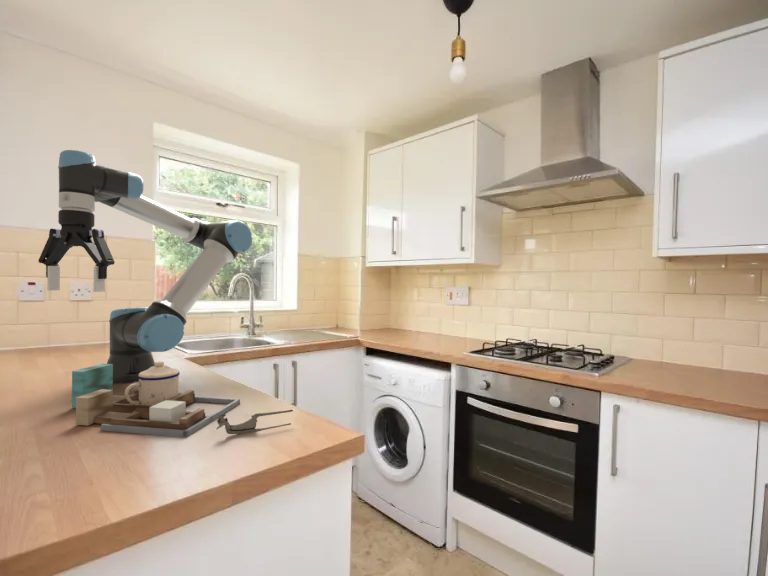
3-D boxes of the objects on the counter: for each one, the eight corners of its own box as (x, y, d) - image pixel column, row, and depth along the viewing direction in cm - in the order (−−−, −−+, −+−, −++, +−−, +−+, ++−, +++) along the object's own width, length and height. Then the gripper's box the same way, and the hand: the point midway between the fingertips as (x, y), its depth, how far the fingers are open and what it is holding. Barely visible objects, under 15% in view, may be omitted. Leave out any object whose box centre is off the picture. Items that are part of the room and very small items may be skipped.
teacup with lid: (170, 400, 104) (170, 357, 104) (185, 407, 98) (186, 362, 98) (118, 411, 95) (118, 363, 94) (131, 420, 89) (132, 369, 89)
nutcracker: (291, 425, 88) (292, 403, 88) (293, 426, 88) (293, 404, 88) (215, 438, 80) (216, 414, 80) (216, 440, 79) (216, 416, 79)
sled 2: (103, 413, 92) (103, 388, 92) (205, 421, 89) (205, 395, 89) (73, 425, 84) (73, 398, 84) (184, 434, 81) (184, 405, 81)
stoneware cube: (165, 422, 89) (165, 400, 88) (185, 423, 88) (185, 401, 88) (149, 430, 84) (149, 407, 84) (170, 431, 83) (170, 408, 83)
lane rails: (170, 399, 105) (171, 394, 105) (239, 403, 102) (239, 399, 102) (100, 430, 83) (101, 424, 83) (186, 437, 80) (186, 431, 80)
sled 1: (106, 395, 106) (107, 362, 106) (194, 401, 103) (195, 367, 103) (66, 409, 95) (67, 372, 94) (164, 416, 91) (165, 378, 91)
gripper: (20, 208, 101) (20, 290, 101) (107, 208, 98) (106, 292, 98) (49, 213, 108) (48, 289, 109) (130, 213, 105) (129, 291, 106)
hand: (76, 291), depth 103 cm, fingers open, 13 cm apart
